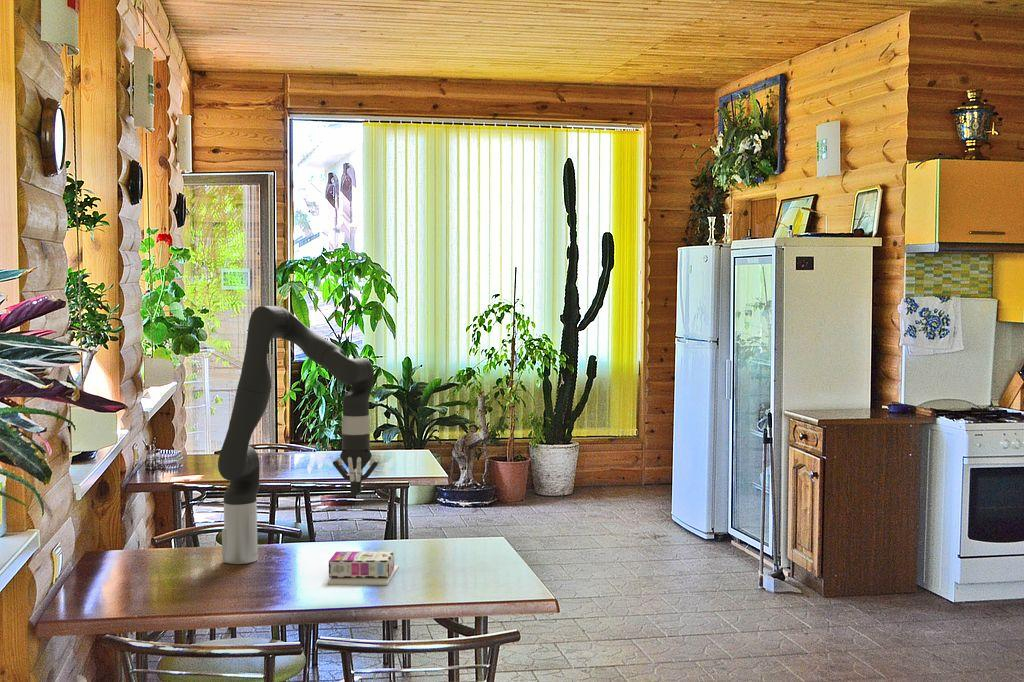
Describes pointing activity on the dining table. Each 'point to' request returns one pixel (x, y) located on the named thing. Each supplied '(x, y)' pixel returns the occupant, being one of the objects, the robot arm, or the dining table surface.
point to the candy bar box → (361, 564)
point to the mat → (364, 580)
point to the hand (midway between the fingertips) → (356, 494)
